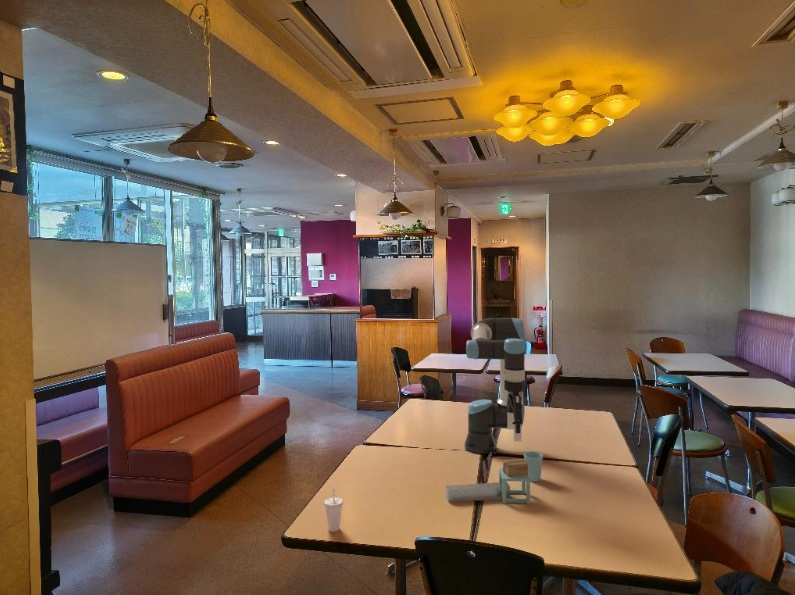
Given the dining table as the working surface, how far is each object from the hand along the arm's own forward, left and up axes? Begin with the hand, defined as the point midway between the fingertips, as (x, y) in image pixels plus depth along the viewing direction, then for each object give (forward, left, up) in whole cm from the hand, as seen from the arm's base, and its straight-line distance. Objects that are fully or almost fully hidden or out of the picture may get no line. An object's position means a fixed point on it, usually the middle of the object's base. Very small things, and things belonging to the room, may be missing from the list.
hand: (514, 435), depth 199 cm
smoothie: (+26, -65, -25) cm, 74 cm away
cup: (-18, +11, -25) cm, 32 cm away
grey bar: (+1, -14, -25) cm, 28 cm away
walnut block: (0, 0, -15) cm, 15 cm away
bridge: (0, 0, -24) cm, 24 cm away
